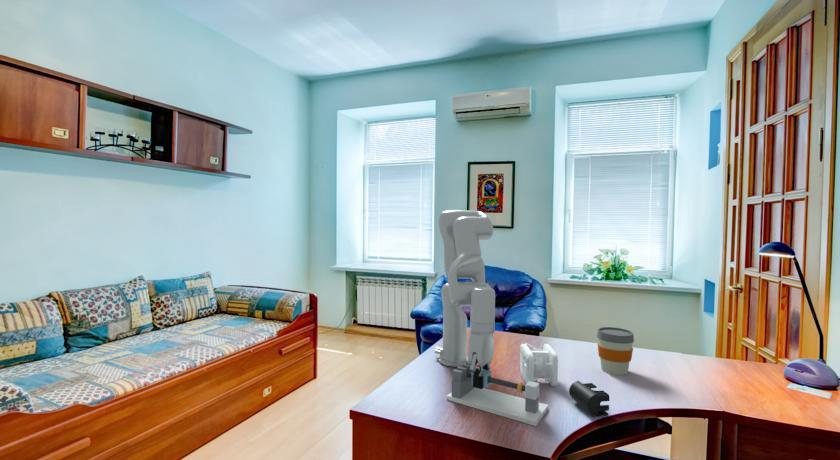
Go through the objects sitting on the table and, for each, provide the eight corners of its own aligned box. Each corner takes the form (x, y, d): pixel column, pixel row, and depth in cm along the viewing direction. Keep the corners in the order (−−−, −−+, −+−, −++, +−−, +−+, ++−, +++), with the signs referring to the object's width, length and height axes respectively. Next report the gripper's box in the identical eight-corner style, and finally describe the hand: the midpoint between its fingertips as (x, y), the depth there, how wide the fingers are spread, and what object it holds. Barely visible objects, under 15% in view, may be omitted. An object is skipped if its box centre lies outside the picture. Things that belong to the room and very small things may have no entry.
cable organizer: (558, 391, 131) (559, 356, 131) (526, 389, 132) (526, 355, 131) (547, 373, 146) (548, 342, 146) (518, 372, 147) (518, 341, 146)
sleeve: (471, 384, 123) (471, 371, 123) (476, 380, 126) (477, 367, 126) (486, 388, 120) (486, 375, 120) (491, 383, 124) (491, 371, 124)
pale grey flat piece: (566, 361, 161) (566, 358, 161) (514, 367, 155) (514, 364, 155) (533, 342, 185) (533, 340, 185) (487, 347, 179) (487, 345, 179)
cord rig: (446, 399, 123) (446, 370, 123) (464, 386, 133) (464, 359, 133) (535, 426, 108) (536, 392, 108) (548, 409, 118) (548, 378, 118)
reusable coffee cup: (596, 373, 146) (597, 333, 146) (595, 362, 158) (596, 325, 158) (635, 379, 142) (636, 337, 141) (631, 367, 153) (632, 329, 153)
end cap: (568, 402, 123) (569, 381, 122) (589, 401, 124) (589, 379, 124) (587, 418, 113) (588, 395, 113) (610, 416, 114) (610, 393, 114)
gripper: (482, 319, 132) (481, 374, 132) (458, 330, 118) (458, 391, 118) (503, 323, 128) (502, 379, 128) (482, 335, 114) (481, 398, 114)
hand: (481, 384), depth 123 cm, fingers closed on sleeve, 4 cm apart
